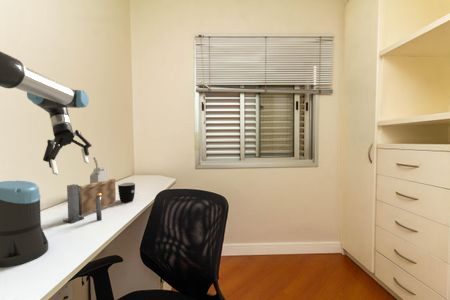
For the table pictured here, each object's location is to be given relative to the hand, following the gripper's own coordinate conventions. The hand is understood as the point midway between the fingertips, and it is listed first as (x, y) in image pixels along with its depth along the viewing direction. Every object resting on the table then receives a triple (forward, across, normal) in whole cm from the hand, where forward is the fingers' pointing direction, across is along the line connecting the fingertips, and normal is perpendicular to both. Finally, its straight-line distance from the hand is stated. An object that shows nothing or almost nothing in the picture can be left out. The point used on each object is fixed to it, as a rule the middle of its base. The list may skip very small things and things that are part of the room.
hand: (71, 168), depth 107 cm
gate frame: (+22, +5, -9) cm, 24 cm away
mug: (+13, -6, -40) cm, 43 cm away
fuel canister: (+2, +12, -49) cm, 51 cm away
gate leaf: (+16, +2, -21) cm, 26 cm away
